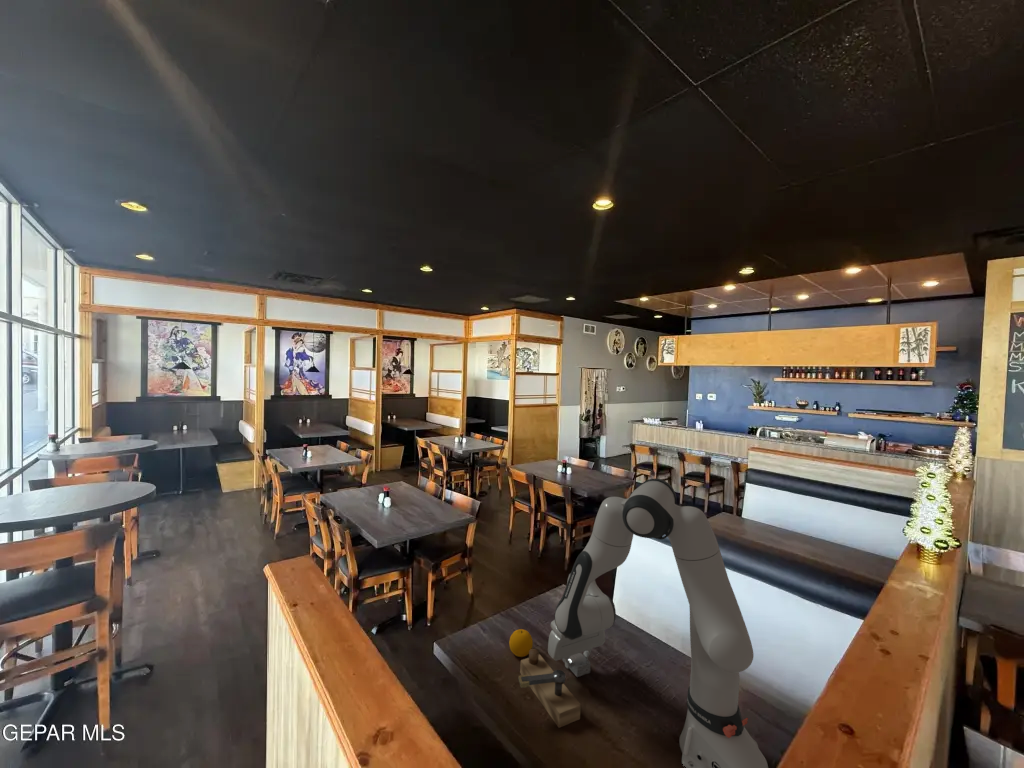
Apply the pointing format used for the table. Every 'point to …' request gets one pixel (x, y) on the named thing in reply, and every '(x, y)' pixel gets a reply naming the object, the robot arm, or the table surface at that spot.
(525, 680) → the lever
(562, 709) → the plane body
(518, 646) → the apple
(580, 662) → the lever cap
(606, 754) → the table surface
